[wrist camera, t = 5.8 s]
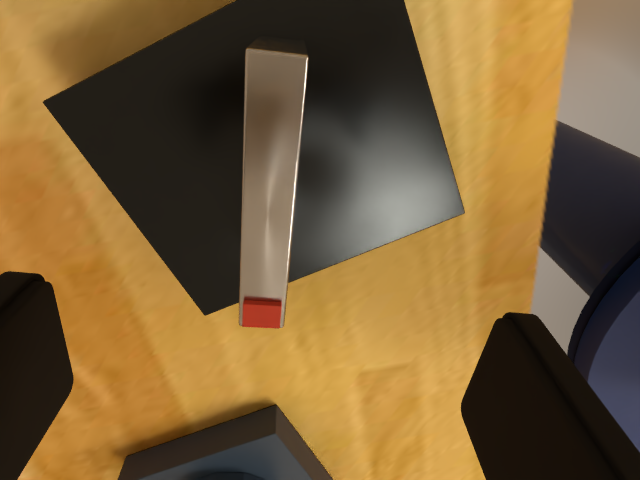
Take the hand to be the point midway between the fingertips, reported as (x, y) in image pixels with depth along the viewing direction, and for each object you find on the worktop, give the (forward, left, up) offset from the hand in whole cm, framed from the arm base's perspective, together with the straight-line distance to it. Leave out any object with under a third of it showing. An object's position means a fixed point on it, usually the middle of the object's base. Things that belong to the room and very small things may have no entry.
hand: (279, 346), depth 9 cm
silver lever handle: (0, -1, -9) cm, 9 cm away
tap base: (0, -1, -12) cm, 12 cm away
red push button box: (+14, +20, -12) cm, 27 cm away
